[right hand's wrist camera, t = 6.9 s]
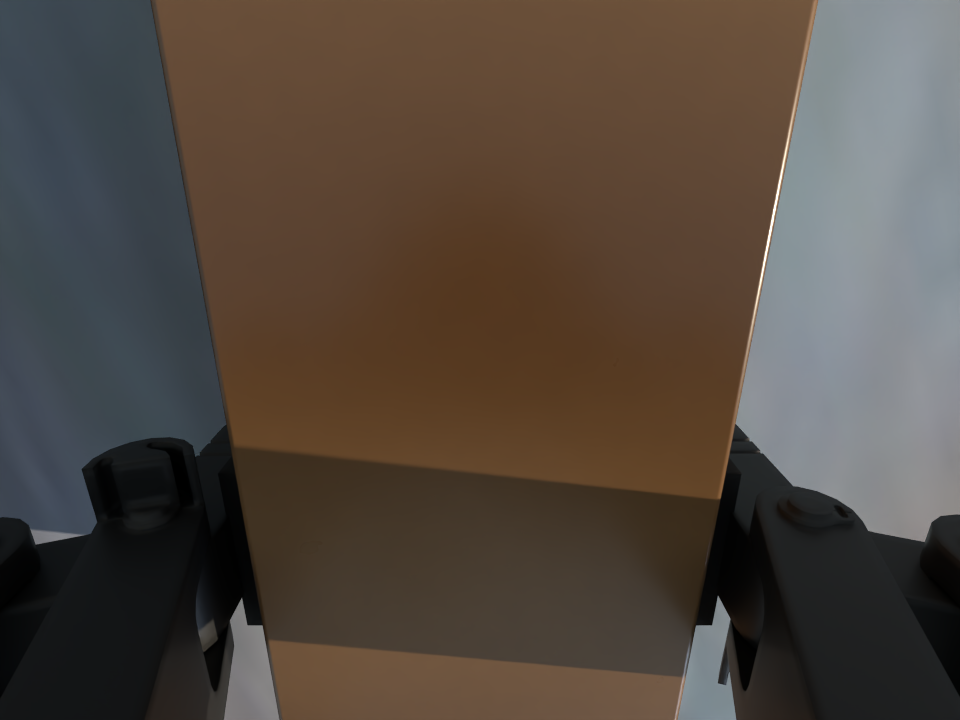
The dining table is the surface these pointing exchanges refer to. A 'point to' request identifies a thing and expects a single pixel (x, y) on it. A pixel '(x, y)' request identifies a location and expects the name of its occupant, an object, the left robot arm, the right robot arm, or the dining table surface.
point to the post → (481, 329)
